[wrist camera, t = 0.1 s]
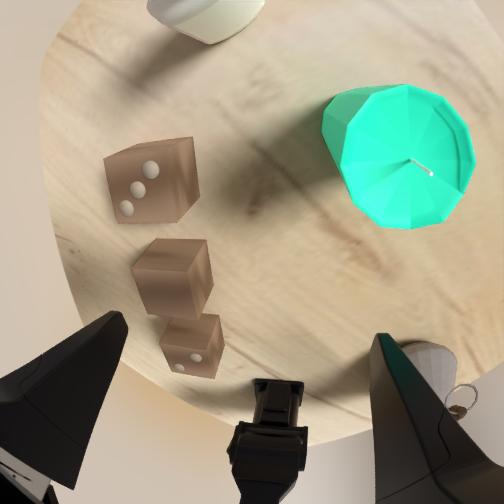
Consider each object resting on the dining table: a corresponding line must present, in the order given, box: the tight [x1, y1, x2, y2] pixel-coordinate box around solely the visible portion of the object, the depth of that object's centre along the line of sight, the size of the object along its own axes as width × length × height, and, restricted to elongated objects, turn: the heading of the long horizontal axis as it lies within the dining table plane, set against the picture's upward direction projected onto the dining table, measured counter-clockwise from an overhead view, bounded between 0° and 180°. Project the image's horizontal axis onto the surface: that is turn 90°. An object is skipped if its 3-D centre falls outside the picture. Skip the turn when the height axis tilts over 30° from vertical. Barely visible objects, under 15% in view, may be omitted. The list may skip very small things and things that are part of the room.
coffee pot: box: [369, 342, 478, 421], centre depth 21 cm, size 21×12×15 cm, turn 22°
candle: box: [321, 84, 476, 229], centre depth 13 cm, size 6×6×12 cm
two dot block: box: [159, 313, 225, 379], centre depth 29 cm, size 5×5×5 cm
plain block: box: [131, 239, 214, 320], centre depth 24 cm, size 5×5×5 cm
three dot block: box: [103, 137, 200, 223], centre depth 20 cm, size 5×5×5 cm
